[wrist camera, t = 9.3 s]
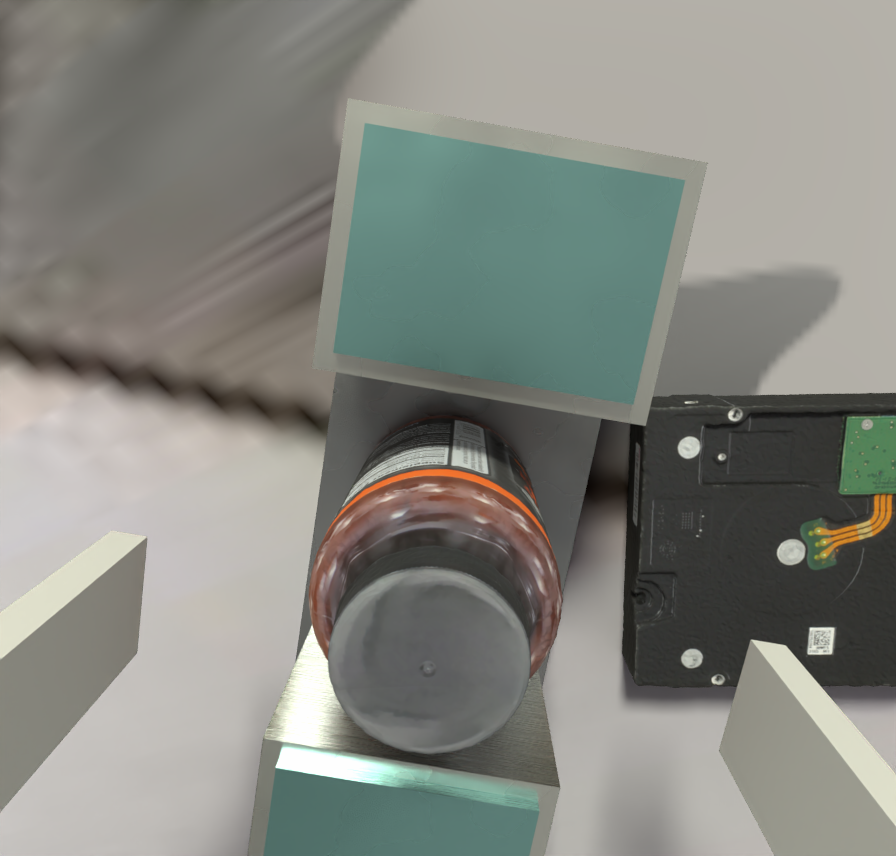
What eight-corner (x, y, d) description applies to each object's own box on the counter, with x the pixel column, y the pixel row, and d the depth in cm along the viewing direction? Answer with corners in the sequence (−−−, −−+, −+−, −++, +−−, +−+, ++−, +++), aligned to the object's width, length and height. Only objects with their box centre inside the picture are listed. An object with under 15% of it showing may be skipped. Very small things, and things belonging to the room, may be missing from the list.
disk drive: (618, 653, 29) (1008, 649, 28) (633, 693, 26) (1066, 691, 25) (623, 392, 26) (1047, 382, 26) (641, 406, 24) (1115, 396, 23)
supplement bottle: (543, 561, 25) (604, 784, 14) (377, 588, 26) (312, 826, 15) (516, 395, 24) (559, 499, 13) (342, 426, 25) (241, 553, 14)
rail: (512, 781, 29) (532, 999, 20) (289, 744, 29) (214, 948, 20) (642, 187, 24) (742, 139, 15) (375, 139, 24) (325, 64, 15)
